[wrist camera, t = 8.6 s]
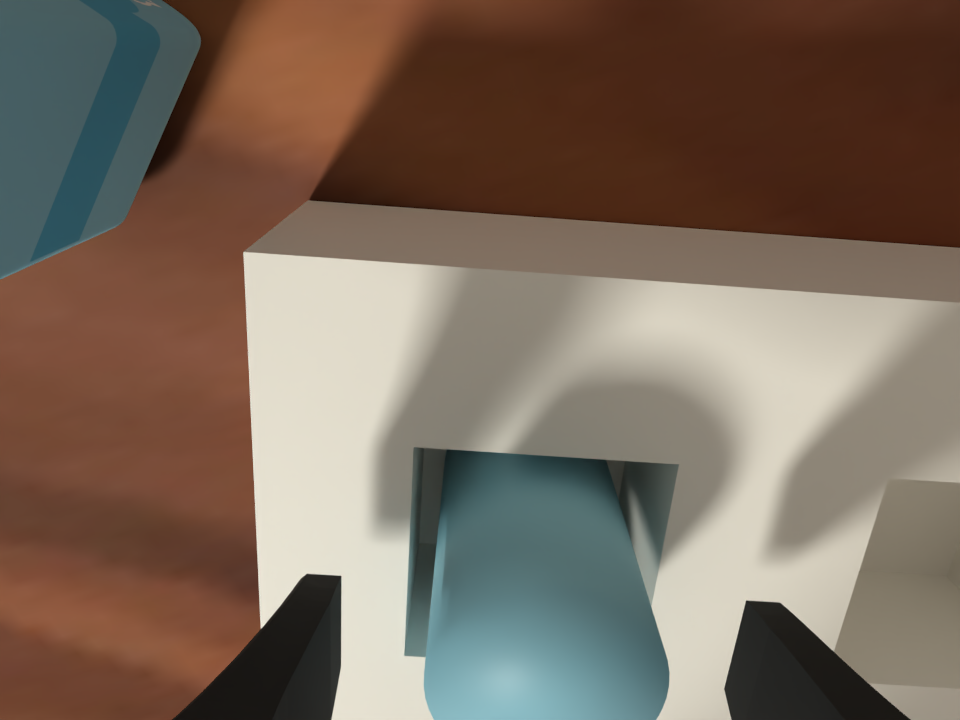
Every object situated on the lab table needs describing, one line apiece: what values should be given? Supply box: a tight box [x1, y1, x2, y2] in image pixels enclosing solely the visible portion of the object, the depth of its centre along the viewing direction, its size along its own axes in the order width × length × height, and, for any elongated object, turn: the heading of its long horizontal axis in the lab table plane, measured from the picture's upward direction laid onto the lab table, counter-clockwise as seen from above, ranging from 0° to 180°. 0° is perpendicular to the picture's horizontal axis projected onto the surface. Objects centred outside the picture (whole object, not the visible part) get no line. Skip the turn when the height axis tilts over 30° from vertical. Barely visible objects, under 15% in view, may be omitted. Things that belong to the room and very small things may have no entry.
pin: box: [424, 449, 670, 720], centre depth 15 cm, size 4×4×7 cm
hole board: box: [244, 200, 960, 720], centre depth 17 cm, size 12×20×5 cm, turn 86°
